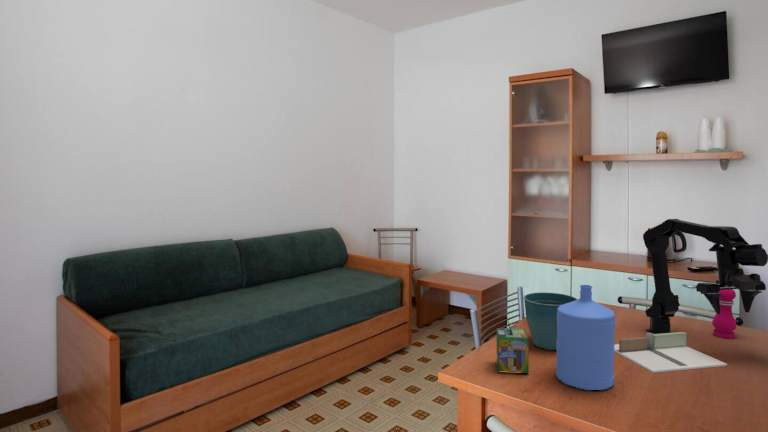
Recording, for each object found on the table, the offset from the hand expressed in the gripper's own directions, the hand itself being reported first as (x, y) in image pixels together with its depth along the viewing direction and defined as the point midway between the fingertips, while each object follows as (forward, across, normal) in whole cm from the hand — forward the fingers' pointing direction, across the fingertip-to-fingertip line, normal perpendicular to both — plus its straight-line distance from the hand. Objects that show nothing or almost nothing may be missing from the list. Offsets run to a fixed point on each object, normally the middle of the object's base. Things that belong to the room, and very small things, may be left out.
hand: (732, 313), depth 147 cm
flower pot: (+10, -55, +14) cm, 58 cm away
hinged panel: (+12, -16, +9) cm, 22 cm away
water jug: (+14, -55, -14) cm, 59 cm away
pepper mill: (+13, +11, +22) cm, 28 cm away
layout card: (+13, -22, +3) cm, 26 cm away
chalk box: (+12, -74, -6) cm, 75 cm away
